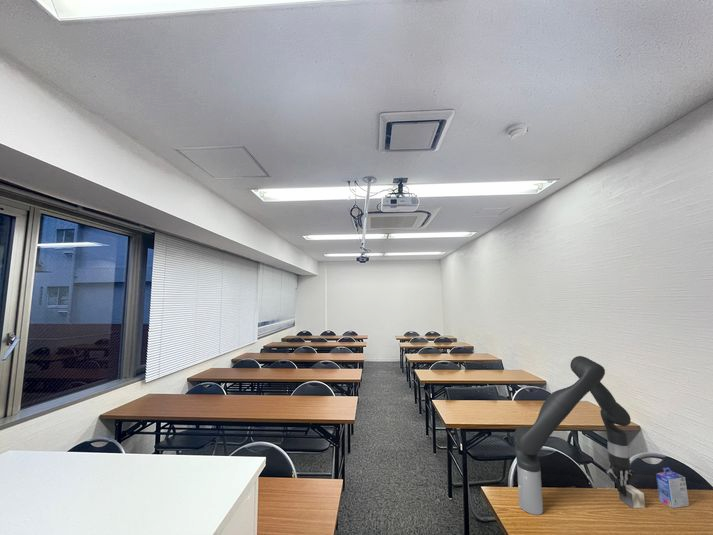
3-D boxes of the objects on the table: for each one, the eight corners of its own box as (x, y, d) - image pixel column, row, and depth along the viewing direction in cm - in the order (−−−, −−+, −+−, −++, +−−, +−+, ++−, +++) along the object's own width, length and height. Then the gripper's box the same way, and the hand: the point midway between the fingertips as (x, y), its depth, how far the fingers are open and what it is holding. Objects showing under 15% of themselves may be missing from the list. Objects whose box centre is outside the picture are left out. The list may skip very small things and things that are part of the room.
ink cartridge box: (674, 498, 138) (671, 465, 139) (689, 506, 132) (685, 471, 134) (658, 500, 136) (654, 467, 137) (672, 508, 130) (668, 474, 132)
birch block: (631, 493, 131) (643, 493, 132) (618, 485, 137) (630, 485, 138) (632, 508, 131) (644, 507, 131) (619, 499, 137) (631, 498, 137)
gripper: (612, 457, 132) (616, 499, 130) (639, 456, 133) (644, 498, 131) (597, 449, 139) (601, 488, 137) (623, 448, 140) (627, 487, 138)
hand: (622, 493), depth 134 cm, fingers closed
